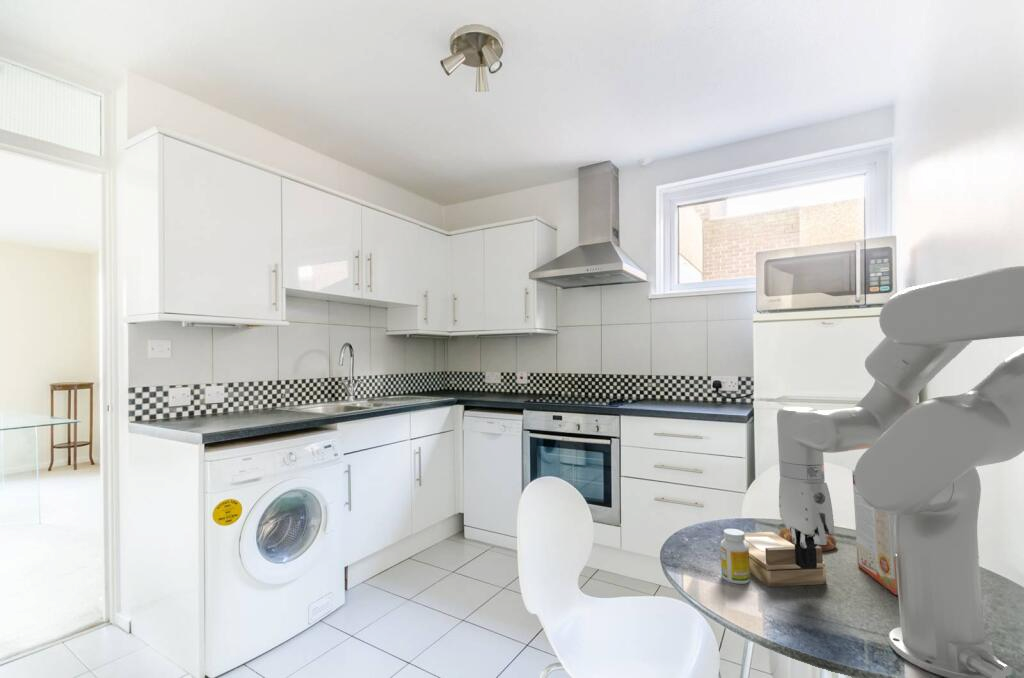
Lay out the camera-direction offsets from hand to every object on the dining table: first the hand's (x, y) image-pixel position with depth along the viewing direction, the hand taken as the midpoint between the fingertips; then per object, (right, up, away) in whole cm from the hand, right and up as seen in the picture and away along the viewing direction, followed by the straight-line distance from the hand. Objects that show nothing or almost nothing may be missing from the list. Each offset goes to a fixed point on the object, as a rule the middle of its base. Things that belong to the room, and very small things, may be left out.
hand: (806, 566), depth 92 cm
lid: (0, -2, +12) cm, 12 cm away
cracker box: (+20, -5, +4) cm, 21 cm away
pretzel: (+15, -7, +24) cm, 30 cm away
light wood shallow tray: (0, -6, +12) cm, 13 cm away
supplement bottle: (-11, -6, +6) cm, 14 cm away
